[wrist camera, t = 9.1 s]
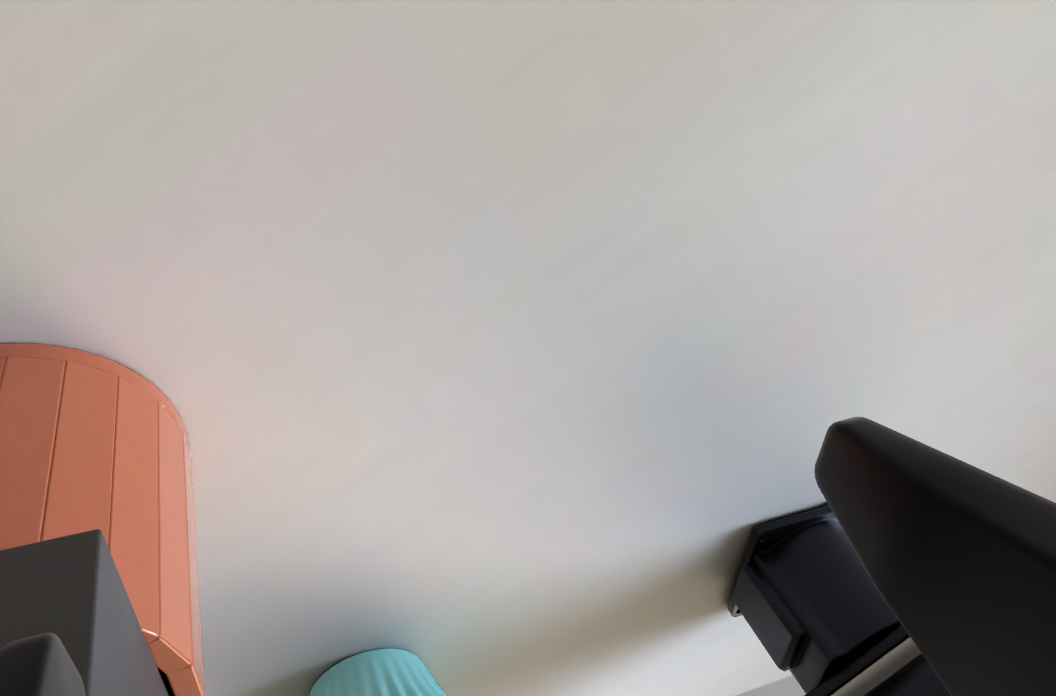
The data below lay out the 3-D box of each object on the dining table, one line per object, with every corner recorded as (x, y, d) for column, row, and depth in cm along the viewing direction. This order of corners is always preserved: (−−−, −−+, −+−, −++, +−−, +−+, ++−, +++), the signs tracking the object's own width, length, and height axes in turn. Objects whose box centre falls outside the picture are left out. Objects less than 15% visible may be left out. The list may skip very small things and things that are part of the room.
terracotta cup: (155, 318, 20) (156, 562, 14) (212, 522, 25) (231, 771, 19) (-218, 374, 18) (-408, 696, 12) (-78, 588, 22) (-162, 898, 16)
